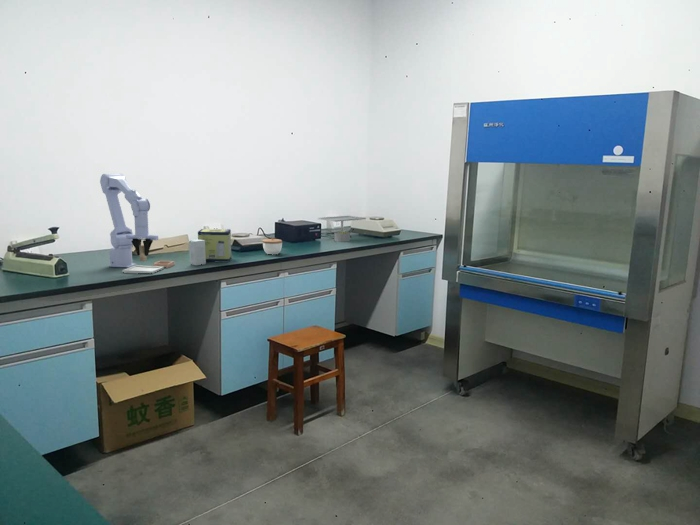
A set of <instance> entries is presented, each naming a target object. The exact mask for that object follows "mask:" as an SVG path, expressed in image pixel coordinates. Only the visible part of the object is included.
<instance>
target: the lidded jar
mask: <svg viewBox="0 0 700 525" xmlns="http://www.w3.org/2000/svg"><path fill="white" fill-rule="evenodd" d="M282 247H283V240H282V239H279V238H274V237H273V236H272V237H271V238H265V239H262V248H263V250H264V252H265V253H266V254H267V255H268V254H272V255H271V256H274V255H273V254H277V255H278V254H279V253H281V251H282Z"/></svg>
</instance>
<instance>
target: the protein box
mask: <svg viewBox="0 0 700 525" xmlns="http://www.w3.org/2000/svg"><path fill="white" fill-rule="evenodd" d="M231 234H232V232H231V229H230V228H227V229H226V228H225V229H224V228H223V229H222V228H220V229H218V228H217V229H214V228H213V229H212V228H210V229H209V228H200V230H198V231H197V240H205V255H206V263H210V261H211V263H216V262H215V261H229V260H230V261H231V259H232V236H231ZM230 261H229V262H230Z"/></svg>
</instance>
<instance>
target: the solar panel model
mask: <svg viewBox="0 0 700 525" xmlns="http://www.w3.org/2000/svg"><path fill="white" fill-rule="evenodd" d="M317 220H319V221H328V222H334V223H335V222H336V223H337V222H340V231H334V242H338V243H343V242H350V241H351V232H350V231H344V222H349V221H361V220H367V217H362V216H354V215H339V216H327V217H325V216H324V217H317Z"/></svg>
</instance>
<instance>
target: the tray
mask: <svg viewBox="0 0 700 525" xmlns="http://www.w3.org/2000/svg"><path fill="white" fill-rule="evenodd" d="M162 269H163V270H164V267H162V266H153V265H141V264H139V265H138V264H136V265H133V266H131V267H126V268H125V269H122V270H121V271H122V273H123V272H124V273H123V274H138V273H154V272H156V273H158V272H160V271H159V270H161V271H163V270H162ZM157 271H158V272H157ZM154 274H155V273H154Z"/></svg>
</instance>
